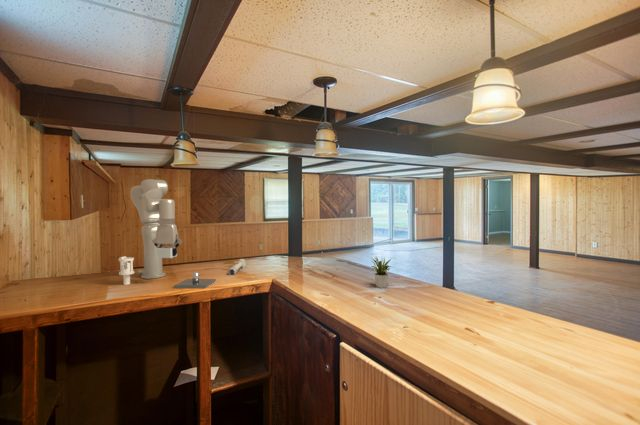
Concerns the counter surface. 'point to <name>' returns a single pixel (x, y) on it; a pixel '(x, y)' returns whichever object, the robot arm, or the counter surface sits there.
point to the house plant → (381, 272)
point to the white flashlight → (237, 267)
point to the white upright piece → (126, 268)
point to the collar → (165, 252)
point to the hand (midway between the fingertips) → (167, 255)
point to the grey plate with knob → (195, 282)
